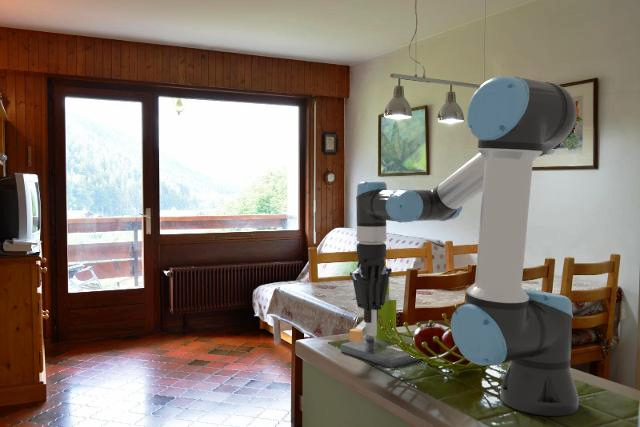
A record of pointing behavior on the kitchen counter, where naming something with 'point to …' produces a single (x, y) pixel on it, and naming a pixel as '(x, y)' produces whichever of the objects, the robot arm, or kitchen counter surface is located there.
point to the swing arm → (358, 332)
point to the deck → (377, 352)
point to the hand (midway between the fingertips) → (370, 334)
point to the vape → (387, 317)
